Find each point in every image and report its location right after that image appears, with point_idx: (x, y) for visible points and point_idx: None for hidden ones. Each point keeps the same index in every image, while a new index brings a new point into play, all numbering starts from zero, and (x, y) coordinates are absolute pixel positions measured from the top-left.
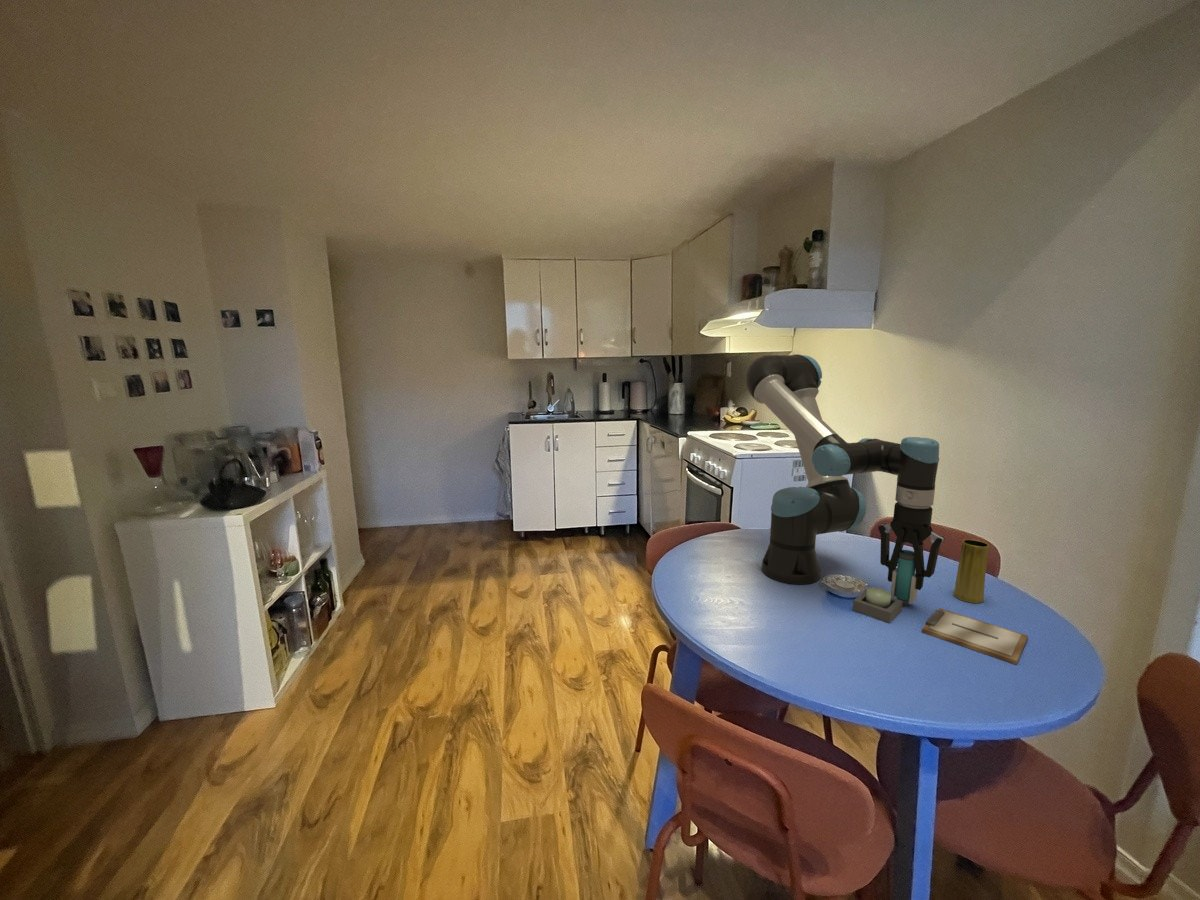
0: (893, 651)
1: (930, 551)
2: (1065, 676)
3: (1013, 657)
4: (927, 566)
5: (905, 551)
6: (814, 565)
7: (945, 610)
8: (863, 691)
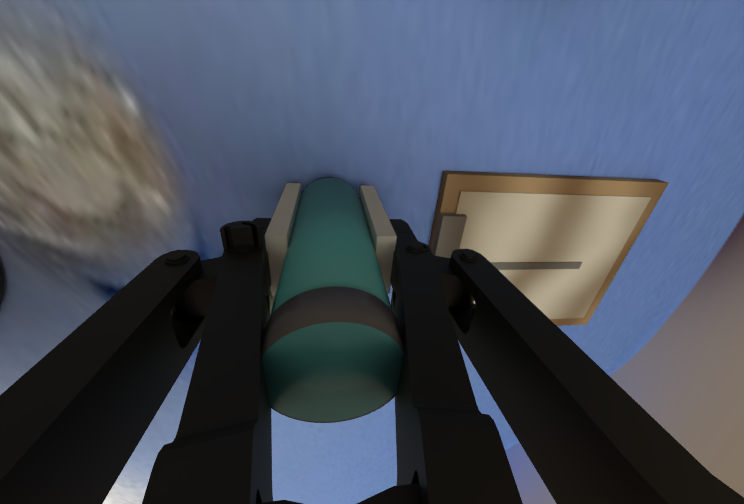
0: (381, 412)
1: (545, 474)
2: (654, 297)
3: (585, 316)
4: (467, 348)
5: (305, 367)
6: None
7: (467, 178)
8: (374, 489)
